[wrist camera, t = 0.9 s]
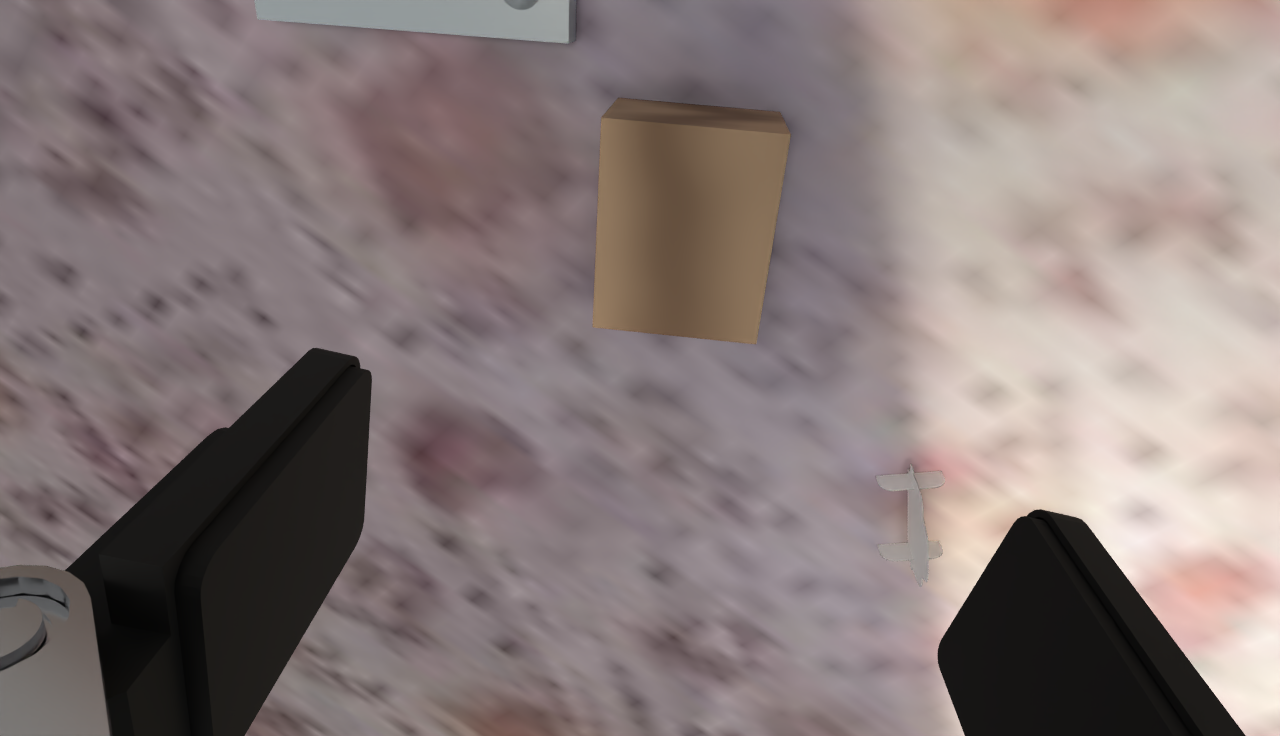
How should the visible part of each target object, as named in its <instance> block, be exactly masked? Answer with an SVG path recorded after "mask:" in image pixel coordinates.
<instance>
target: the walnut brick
mask: <svg viewBox="0 0 1280 736" xmlns="http://www.w3.org/2000/svg"><path fill="white" fill-rule="evenodd" d="M790 137H791V134H790V132H789V130H788V128H787V126H786V124H785V121H784V119H783V117H782V115H781V113H780V112H774V111H763V110H752V109H740V108H729V107H718V106H706V105H695V104H683V103H672V102H661V101H649V100H638V99H627V98H618V99H617V100H616V101H615V102H614V103H613V105H612V106H611V107H610V108H609V109H608V110H607V112H606V113H605V114H604V115H603V116H602V117H601V137H600V161H599V185H598V209H597V233H596V258H595V282H594V306H593V327H595V328H605V329H614V330H624V331H633V332H643V333H652V334H662V335H672V336H681V337H691V338H700V339H710V340H719V341H729V342H739V343H748V344H756V342H757V336H758V330H759V324H760V318H761V312H762V306H763V300H764V294H765V288H766V282H767V276H768V270H769V263H770V257H771V251H772V245H773V239H774V233H775V227H776V221H777V215H778V209H779V203H780V197H781V191H782V185H783V179H784V173H785V167H786V161H787V155H788V149H789V143H790Z"/></svg>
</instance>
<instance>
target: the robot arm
mask: <svg viewBox="0 0 1280 736" xmlns="http://www.w3.org/2000/svg"><path fill="white" fill-rule="evenodd" d="M371 385H372V376H371V372H370V371H369V370H365V369H360V363H359V359H358V358H357V357H355V356H351V355H346V354H342V353H337V352H333V351H328V350H324V349H319V348H312V349H311V350H309V351H308V352H307V353H306V354H305V355H304V356H303V357H302V358H301V359H300V360H299V361H298V362H297V363H296V364H295V365H294V366H293V367H292V368H291V369H289V370H288V371H287V372H286V373H285V374H284V375H283V376H282V377H281V378H280V379H279V380H278V381H277V382H276V383H275V384H274V385H273V386H272V387H271V388H270V389H269V390H268V391H267V392H266V393H265V394H264V395H263V396H262V397H261V398H260V399H259V400H257V401H256V402H255V403H254V404H253V405H252V406H251V407H250V408H249V409H248V410H247V411H246V412H245V413H244V414H243V415H242V416H241V417H240V418H239V419H238V420H237V421H236V422H235V423H234V424H233V425H232V426H231V427H230V428H226V427H225V428H221V429H217V430H216V431H214V432H213V433H211V434H210V435H209V436H207V437H206V438H205V439H204V440H203V441H202V442H201V443H200V444H199V445H198V446H197V447H196V448H195V449H194V450H192V451H191V452H190V453H189V454H188V455H187V456H186V457H185V458H184V459H183V460H182V461H181V462H180V463H179V464H178V465H177V466H176V467H174V468H173V469H172V470H171V471H170V472H169V473H168V474H167V475H166V476H165V477H164V478H163V479H162V480H161V481H160V482H159V483H157V484H156V485H155V486H154V487H153V488H152V489H151V490H150V491H149V492H148V493H147V494H146V495H145V496H144V497H143V498H142V499H140V500H139V501H138V502H137V503H136V504H135V505H134V506H133V507H132V508H131V509H130V510H129V511H128V512H127V513H126V514H125V515H123V516H122V517H121V518H120V519H119V520H118V521H117V522H116V523H115V524H114V525H113V526H112V527H111V528H110V529H109V530H108V531H107V532H105V533H104V534H103V535H102V536H101V537H100V538H99V539H98V540H97V541H96V542H95V543H94V544H93V545H92V546H91V547H90V548H88V549H87V550H86V551H85V552H84V553H83V554H82V555H81V556H80V557H79V558H78V559H77V560H76V561H75V562H74V563H73V564H71V565H70V566H69V567H68V568H67V569H66V570H65V571H64V570H60V569H56V568H53V567H49V566H38V565H15V566H8V567H2V568H0V736H245V734H246V732H247V730H248V729H249V727H250V725H251V724H252V722H253V720H254V719H255V717H256V715H257V713H258V712H259V710H260V708H261V707H262V705H263V703H264V702H265V700H266V698H267V696H268V695H269V693H270V691H271V690H272V688H273V686H274V684H275V683H276V681H277V679H278V678H279V676H280V674H281V673H282V671H283V669H284V667H285V666H286V664H287V662H288V661H289V659H290V657H291V656H292V654H293V652H294V650H295V649H296V647H297V645H298V644H299V642H300V640H301V639H302V637H303V635H304V633H305V632H306V630H307V628H308V627H309V625H310V623H311V621H312V620H313V618H314V616H315V615H316V613H317V611H318V610H319V608H320V606H321V604H322V603H323V601H324V599H325V598H326V596H327V594H328V593H329V591H330V589H331V587H332V586H333V584H334V582H335V581H336V579H337V577H338V575H339V574H340V572H341V570H342V569H343V567H344V565H345V564H346V562H347V560H348V558H349V557H350V555H351V553H352V552H353V550H354V548H355V546H356V544H357V543H358V540H359V538H360V535H361V532H362V528H363V523H364V512H365V494H366V476H367V458H368V440H369V421H370V403H371ZM938 664H939V668H940V671H941V673H942V676H943V679H944V681H945V684H946V687H947V689H948V692H949V695H950V697H951V700H952V702H953V705H954V708H955V710H956V713H957V716H958V718H959V721H960V724H961V726H962V729H963V732H964V734H965V736H1245V734H1244V733H1243V732H1242V730H1241V729H1240V728H1239V726H1238V725H1237V724H1236V722H1235V721H1234V720H1233V718H1232V717H1231V716H1230V714H1229V713H1228V712H1227V710H1226V709H1225V708H1224V706H1223V705H1222V704H1221V702H1220V701H1219V700H1218V698H1217V697H1216V696H1215V694H1214V693H1213V692H1212V690H1211V689H1210V688H1209V686H1208V685H1207V684H1206V682H1205V681H1204V680H1203V678H1202V677H1201V676H1200V674H1199V673H1198V672H1197V670H1196V669H1195V668H1194V666H1193V665H1192V664H1191V662H1190V661H1189V660H1188V658H1187V657H1186V656H1185V654H1184V653H1183V652H1182V651H1181V649H1180V648H1179V647H1178V645H1177V644H1176V643H1175V641H1174V640H1173V639H1172V637H1171V636H1170V635H1169V633H1168V632H1167V631H1166V629H1165V628H1164V627H1163V625H1162V624H1161V623H1160V621H1159V620H1158V619H1157V617H1156V616H1155V615H1154V613H1153V612H1152V611H1151V609H1150V608H1149V607H1148V605H1147V604H1146V603H1145V601H1144V600H1143V599H1142V597H1141V596H1140V595H1139V593H1138V592H1137V591H1136V589H1135V588H1134V587H1133V585H1132V584H1131V583H1130V581H1129V580H1128V579H1127V577H1126V576H1125V575H1124V573H1123V572H1122V571H1121V569H1120V568H1119V567H1118V565H1117V564H1116V563H1115V561H1114V560H1113V559H1112V557H1111V556H1110V555H1109V553H1108V552H1107V551H1106V549H1105V548H1104V547H1103V545H1102V544H1101V543H1100V541H1099V540H1098V539H1097V537H1096V536H1095V535H1094V533H1093V532H1092V531H1091V529H1090V528H1089V527H1088V525H1087V524H1086V523H1085V522H1084V521H1083V520H1081V519H1079V518H1076V517H1072V516H1068V515H1063V514H1059V513H1054V512H1050V511H1045V510H1041V509H1040V510H1034V511H1032V512H1031V513H1029V514H1028V515H1027V517H1026V516H1024V517H1020V518H1018V519H1017V520H1016V521H1015V522H1014V524H1013V525H1012V527H1011V528H1010V530H1009V532H1008V533H1007V535H1006V536H1005V538H1004V540H1003V541H1002V543H1001V544H1000V546H999V548H998V549H997V551H996V553H995V554H994V556H993V557H992V559H991V561H990V562H989V564H988V565H987V567H986V569H985V570H984V572H983V573H982V575H981V577H980V578H979V580H978V581H977V583H976V585H975V586H974V588H973V590H972V591H971V593H970V594H969V596H968V598H967V599H966V601H965V602H964V604H963V606H962V607H961V609H960V610H959V612H958V614H957V615H956V617H955V619H954V620H953V622H952V623H951V625H950V627H949V628H948V630H947V631H946V633H945V635H944V636H943V638H942V640H941V642H940V644H939V648H938Z"/></svg>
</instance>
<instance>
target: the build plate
mask: <svg viewBox="0 0 1280 736" xmlns="http://www.w3.org/2000/svg"><path fill="white" fill-rule="evenodd" d="M254 1H255V7H256V13H257V19H260V20H273V21H286V22H299V23H311V24H324V25H337V26H350V27H363V28H375V29H388V30H401V31H414V32H427V33H439V34H452V35H465V36H478V37H491V38H503V39H516V40H529V41H542V42H555V43H567V44H569V43H571V42H573V41H576V0H254Z"/></svg>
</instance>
